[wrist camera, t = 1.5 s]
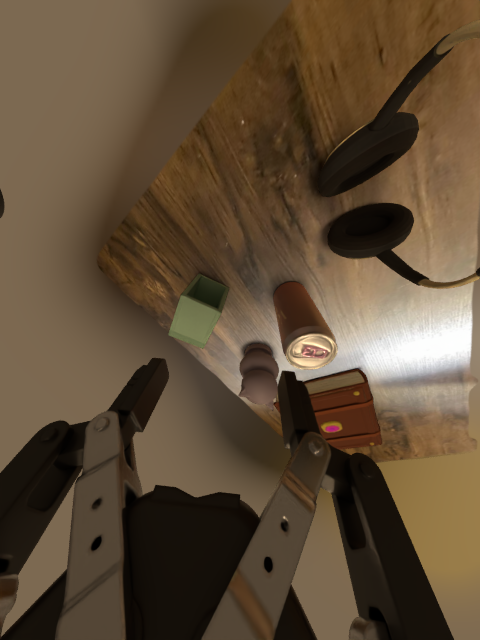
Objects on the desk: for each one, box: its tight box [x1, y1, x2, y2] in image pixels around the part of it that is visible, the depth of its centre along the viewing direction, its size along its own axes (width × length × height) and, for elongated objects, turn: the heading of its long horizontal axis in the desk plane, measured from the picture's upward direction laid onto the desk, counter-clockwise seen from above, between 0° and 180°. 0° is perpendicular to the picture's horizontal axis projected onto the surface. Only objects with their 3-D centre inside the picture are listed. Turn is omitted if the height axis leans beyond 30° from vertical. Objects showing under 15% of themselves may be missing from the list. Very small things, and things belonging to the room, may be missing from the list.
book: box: [274, 369, 382, 450], centre depth 49 cm, size 23×32×5 cm
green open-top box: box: [168, 274, 229, 349], centre depth 30 cm, size 8×6×9 cm
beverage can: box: [273, 282, 337, 370], centre depth 26 cm, size 6×6×15 cm
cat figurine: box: [239, 343, 279, 410], centre depth 35 cm, size 8×8×12 cm
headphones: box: [317, 20, 480, 289], centre depth 15 cm, size 9×15×20 cm, turn 25°
